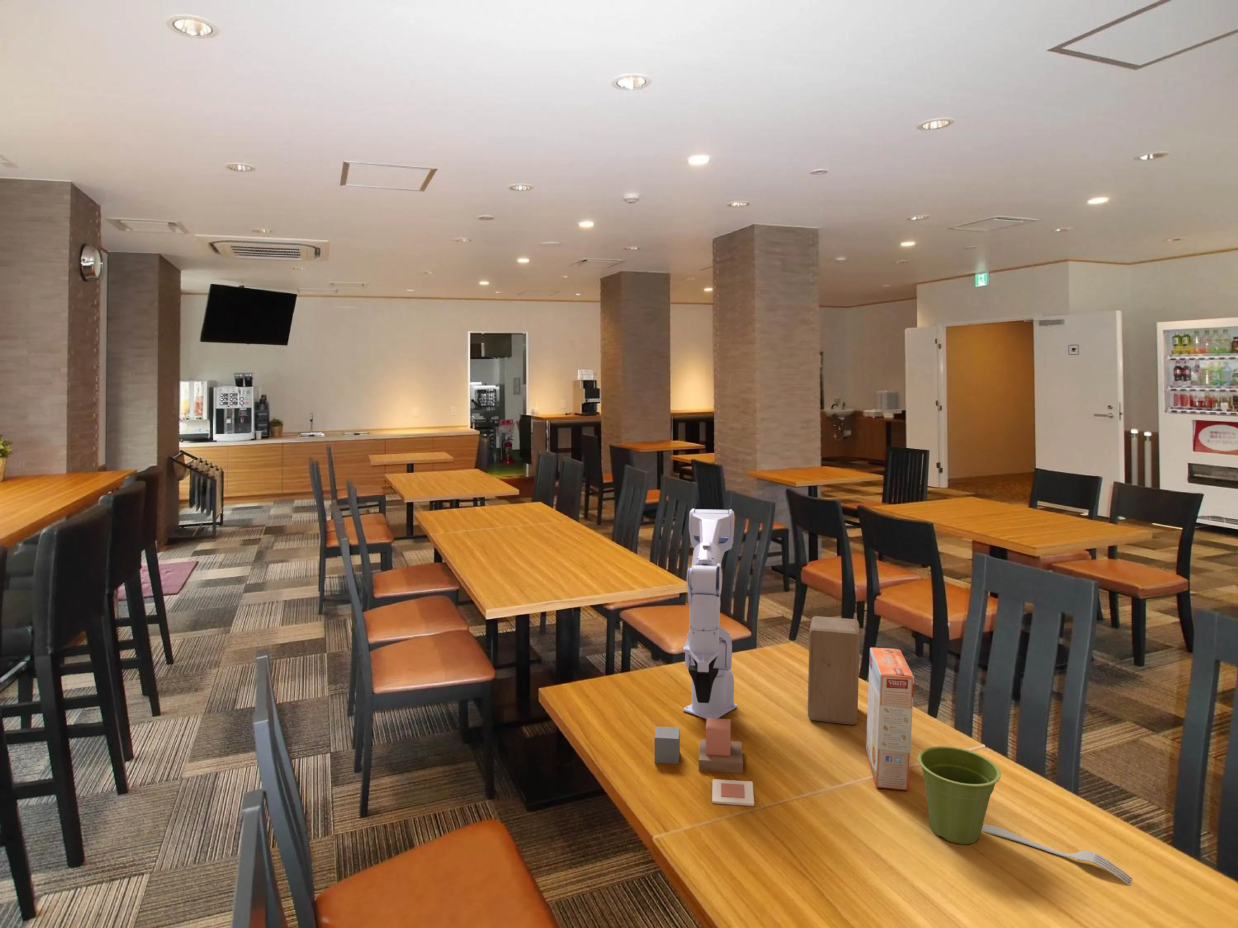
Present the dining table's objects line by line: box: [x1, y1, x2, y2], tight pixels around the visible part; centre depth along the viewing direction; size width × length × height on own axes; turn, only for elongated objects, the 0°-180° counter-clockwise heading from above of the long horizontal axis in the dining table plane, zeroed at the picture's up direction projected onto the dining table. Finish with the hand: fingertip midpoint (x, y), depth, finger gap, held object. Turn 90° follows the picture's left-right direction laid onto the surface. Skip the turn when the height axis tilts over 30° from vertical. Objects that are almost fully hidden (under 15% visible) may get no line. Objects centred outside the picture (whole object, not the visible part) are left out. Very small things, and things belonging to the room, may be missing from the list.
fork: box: [981, 823, 1134, 886], centre depth 113 cm, size 3×21×3 cm, turn 47°
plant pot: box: [917, 745, 1002, 845], centre depth 118 cm, size 12×12×11 cm
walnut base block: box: [698, 738, 744, 774], centre depth 141 cm, size 8×8×2 cm
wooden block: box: [807, 615, 861, 726], centre depth 159 cm, size 10×10×20 cm
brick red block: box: [705, 718, 732, 756], centre depth 141 cm, size 4×4×5 cm
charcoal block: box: [654, 726, 681, 765], centre depth 143 cm, size 4×4×5 cm
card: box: [711, 778, 755, 807], centre depth 130 cm, size 7×7×1 cm
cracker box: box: [865, 647, 915, 791], centre depth 136 cm, size 14×6×21 cm, turn 168°
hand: (703, 693), depth 146 cm, fingers open, 7 cm apart
